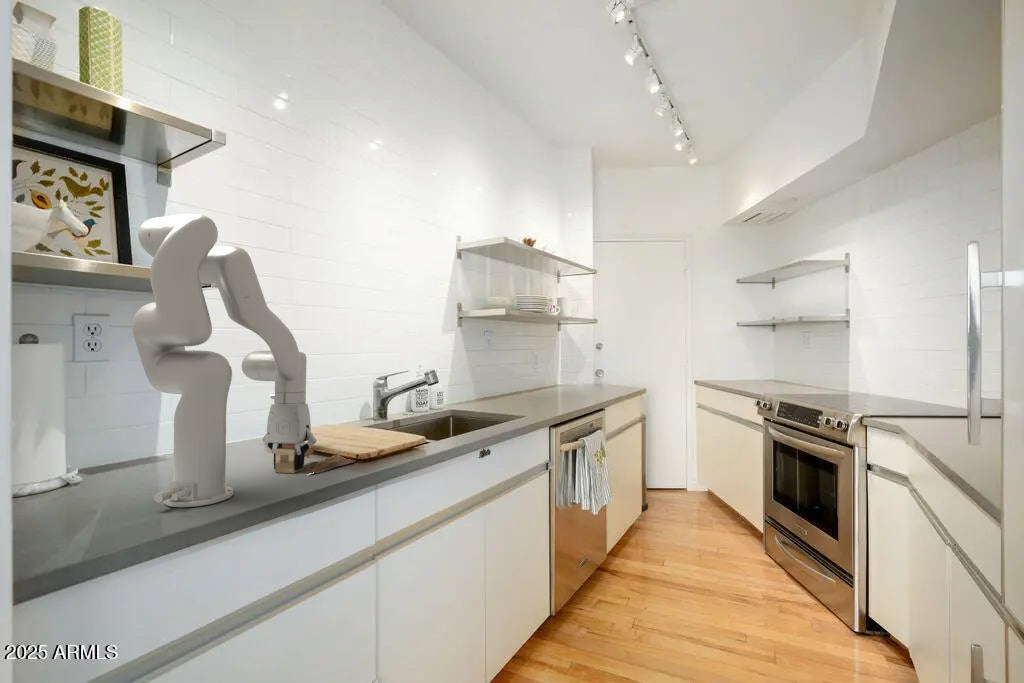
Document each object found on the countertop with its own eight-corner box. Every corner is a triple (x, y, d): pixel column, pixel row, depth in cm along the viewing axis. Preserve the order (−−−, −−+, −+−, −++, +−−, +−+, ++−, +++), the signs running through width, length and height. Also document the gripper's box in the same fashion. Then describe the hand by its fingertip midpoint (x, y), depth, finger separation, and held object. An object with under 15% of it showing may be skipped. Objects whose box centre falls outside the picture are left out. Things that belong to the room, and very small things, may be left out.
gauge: (293, 473, 129) (293, 449, 129) (275, 472, 130) (275, 448, 130) (318, 462, 141) (318, 441, 141) (301, 462, 142) (301, 440, 142)
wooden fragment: (340, 454, 154) (340, 450, 154) (373, 456, 151) (373, 453, 151) (283, 475, 128) (283, 471, 128) (322, 479, 126) (322, 474, 126)
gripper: (251, 399, 129) (249, 470, 129) (312, 401, 127) (311, 473, 126) (269, 396, 137) (267, 464, 136) (328, 398, 134) (326, 467, 134)
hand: (288, 467), depth 131 cm, fingers closed on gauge, 5 cm apart
